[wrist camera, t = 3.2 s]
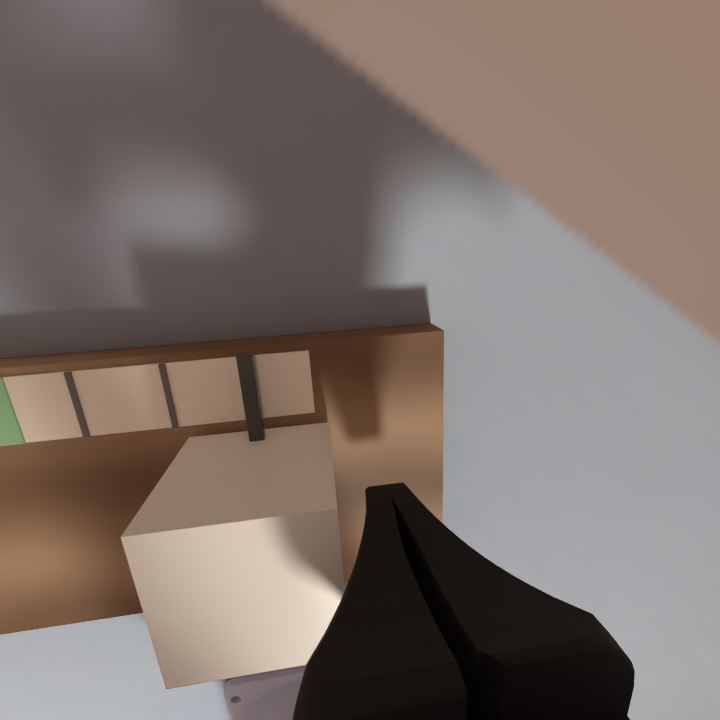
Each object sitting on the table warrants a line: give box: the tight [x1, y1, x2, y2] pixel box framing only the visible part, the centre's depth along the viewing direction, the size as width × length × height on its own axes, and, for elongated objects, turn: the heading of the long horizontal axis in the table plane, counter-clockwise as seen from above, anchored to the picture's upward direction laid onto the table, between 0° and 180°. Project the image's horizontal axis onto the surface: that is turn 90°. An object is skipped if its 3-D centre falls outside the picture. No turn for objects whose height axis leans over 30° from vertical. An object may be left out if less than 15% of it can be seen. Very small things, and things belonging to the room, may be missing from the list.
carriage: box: [121, 353, 345, 689], centre depth 11 cm, size 8×5×5 cm, turn 3°
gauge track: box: [0, 323, 444, 634], centre depth 12 cm, size 11×26×6 cm, turn 93°
